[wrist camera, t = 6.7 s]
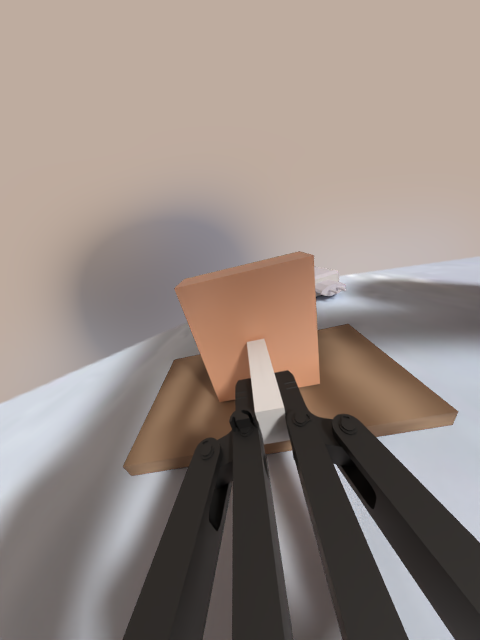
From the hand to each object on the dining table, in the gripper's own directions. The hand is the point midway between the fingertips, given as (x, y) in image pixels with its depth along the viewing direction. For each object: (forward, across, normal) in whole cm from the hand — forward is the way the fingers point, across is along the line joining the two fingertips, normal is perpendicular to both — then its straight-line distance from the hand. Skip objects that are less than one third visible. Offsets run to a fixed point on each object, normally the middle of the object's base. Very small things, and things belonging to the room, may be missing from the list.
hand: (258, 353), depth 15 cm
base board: (+3, 0, -7) cm, 7 cm away
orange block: (+5, 0, -5) cm, 7 cm away
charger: (+27, +16, -7) cm, 33 cm away
